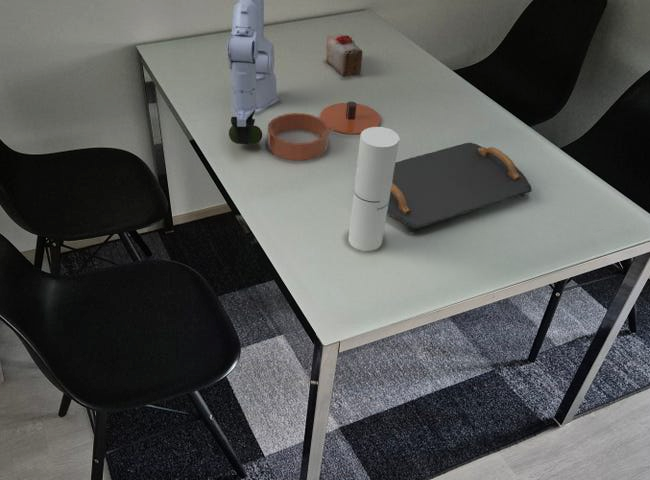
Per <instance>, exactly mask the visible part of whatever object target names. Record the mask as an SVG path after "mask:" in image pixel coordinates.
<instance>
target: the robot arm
mask: <svg viewBox="0 0 650 480" xmlns="http://www.w3.org/2000/svg"><path fill="white" fill-rule="evenodd" d="M264 14H265V0H238V2H237V3H235V4H234V6H233V12H232V21H231V31H230V36H229V37H228V39H227V42H226V43H227V44H226V45H227V46H226V52H227V60H228V68H229V70H230V87H231V88H230V90H231V103H230V107H231V110H232V112H233V114H234V116H231V117H230V124H231V126H232V125H233V127H234V128H235V131H236V133H237V137H238V141H239V144H238V145H249V144H248V142H249V137H250V131H251V129H252V127H253V125H254V126H255V122H256V119H255V118H254V114H255V113H259V112H261V111H262V110H265V109H267V108H268V107H270V106H271V105H273V104H275V103H276V102H278V101H279V99H278V98H277V76H276V74H275V72H274V71H275V70H274V69H275V46H274V43H272V42H271V41H270V39H268V38H267V37H265V35H264V32H265V31H264V25H265V24H264V23H265V21H264V19H265V17H264V16H265V15H264Z"/></svg>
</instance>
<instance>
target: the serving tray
mask: <svg viewBox="0 0 650 480" xmlns="http://www.w3.org/2000/svg"><path fill="white" fill-rule="evenodd" d="M532 191H533V188H532V185H531V183H530V182H529V181H528V179H527V177H526V176H525V175H524V174H523V172H522V171H521V170H520V169H519V168H518V166H516V165H515V163H514V161H513V160H512V159H511V158H510V157H509V156H508V155H507V154H505V153H504V152H503V151H502V150H500V149H499V148H496V147H493V146H490V147H487V148H486V147H484V146H481V145H479V144H477V143H473V142H465V143H462V144H456V145H454V146H449V147H446V148H443V149H438V150H436V151H431V152H428V153H427V152H426V153H423V154H422V155H421V154H420V155H417V156H414V157H409V158H406V159H403V160H400V161H395V168H394V174H393V180H392V186H391V192H390V198H389V204H388V210H387V215H389V216H390V217H392V218H393V219H396V220H397V221H399V222H401V223H402V224H405V225H406V227H407V230H408V232H409V233H414V232H415V231H417V230H418V229H420V228H424V227H428V226H430V225H433V224H436V223H439V222H442V221H446V220H450V219H454V218H456V217H458V216H460V215H463V214H467V213H472V212H475V211H479V210H481V209H483V208H487V207H489V206H492V205H493V206H494V205H496V204H501V203H502V202H504V201H507V200H511V199H514V198H518V197H520V198H524V196H526V195H527V194H529V193H532Z"/></svg>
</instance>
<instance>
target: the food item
mask: <svg viewBox="0 0 650 480" xmlns="http://www.w3.org/2000/svg"><path fill="white" fill-rule="evenodd" d="M353 37H354V35H352V36H349V35H348V34H347V35H344V34H340V33H334V34H331V35H328V36H327V37H326V46H325V48H326V49H325V51H326V55H325V56H326V57H325V58H326V60H325V61H326V62H327V63H328V64H329V65H330V66H332V67H333V68H334V69H335V70H336V71H337V72H338V73H339V74H340V75H341V76H342V77H343V78H348V77H349V78H350V77H353V76H360V75H361V72H362V63H363V50H362V49H361V48H360V47H359V46H358V45H357V44H356V43H355V40H353Z"/></svg>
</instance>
